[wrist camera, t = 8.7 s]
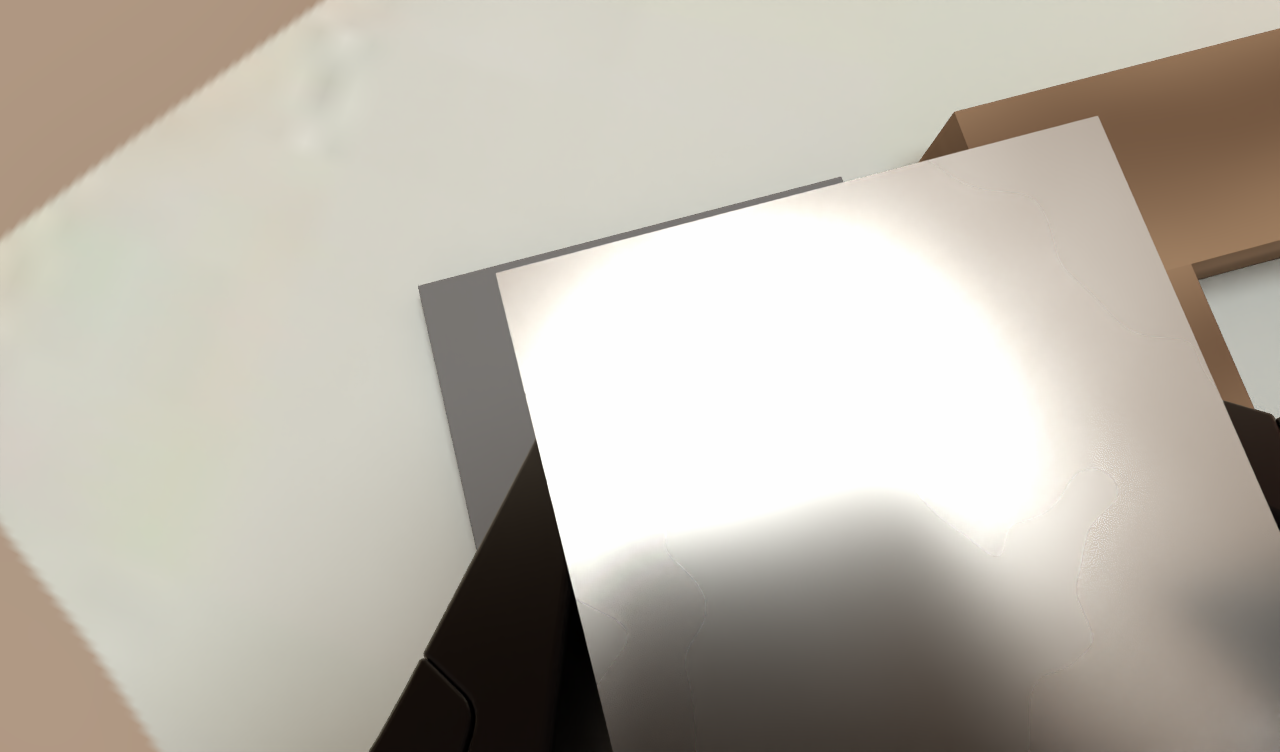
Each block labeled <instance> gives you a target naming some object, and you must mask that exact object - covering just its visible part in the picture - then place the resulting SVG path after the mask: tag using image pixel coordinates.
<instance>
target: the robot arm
mask: <svg viewBox="0 0 1280 752" xmlns="http://www.w3.org/2000/svg"><path fill="white" fill-rule="evenodd" d="M1222 401H1223V403H1224V405H1225V408H1226V410H1227V412H1228V415H1229V417H1230V419H1231V421H1232V424H1233V426H1234V428H1235V431H1236V433H1237V435H1238V437H1239V440H1240V442H1241V444H1242V447H1243V449H1244V451H1245V453H1246V456H1247V458H1248V460H1249V463H1250V465H1251V467H1252V469H1253V472H1254V474H1255V476H1256V479H1257V481H1258V483H1259V485H1260V488H1261V490H1262V492H1263V495H1264V497H1265V499H1266V501H1267V504H1268V506H1269V508H1270V511H1271V513H1272V515H1273V518H1274V520H1275V522H1276V524H1277V527H1278V529H1279V531H1280V418H1277V419H1276V420H1275V418H1274V416H1273V415H1272V414H1270V413H1266V412H1263V411H1259V410H1256V409H1252V408H1249V407H1245V406H1242V405H1238V404H1235V403H1231V402H1228V401H1224V400H1222ZM369 752H613V749H612V745H611V741H610V737H609V733H608V729H607V724H606V720H605V716H604V712H603V708H602V704H601V700H600V696H599V692H598V688H597V684H596V680H595V676H594V672H593V667H592V663H591V659H590V655H589V651H588V647H587V643H586V639H585V635H584V631H583V627H582V623H581V619H580V615H579V611H578V606H577V602H576V598H575V594H574V590H573V586H572V582H571V578H570V574H569V570H568V566H567V562H566V558H565V554H564V549H563V545H562V541H561V537H560V533H559V529H558V525H557V521H556V517H555V513H554V509H553V505H552V501H551V497H550V493H549V488H548V484H547V480H546V476H545V472H544V468H543V464H542V460H541V456H540V452H539V448H538V444H537V440H536V439H535V440H534V442H533V444H532V446H531V448H530V450H529V452H528V454H527V456H526V458H525V460H524V462H523V463H522V465H521V467H520V469H519V471H518V473H517V475H516V477H515V479H514V481H513V483H512V485H511V486H510V488H509V490H508V492H507V494H506V496H505V498H504V500H503V502H502V504H501V506H500V508H499V509H498V511H497V513H496V515H495V517H494V519H493V521H492V523H491V525H490V527H489V529H488V531H487V532H486V534H485V536H484V538H483V540H482V542H481V544H480V546H479V548H478V550H477V552H476V554H475V555H474V557H473V559H472V561H471V563H470V565H469V567H468V569H467V571H466V573H465V575H464V577H463V578H462V580H461V582H460V584H459V586H458V588H457V590H456V592H455V594H454V596H453V598H452V600H451V601H450V603H449V605H448V607H447V609H446V611H445V613H444V615H443V617H442V619H441V621H440V623H439V624H438V626H437V628H436V630H435V632H434V634H433V636H432V638H431V640H430V642H429V644H428V646H427V647H426V649H425V651H424V658H423V659H421V660H420V661H419V662H418V664H417V666H416V668H415V670H414V672H413V674H412V676H411V677H410V679H409V681H408V683H407V685H406V687H405V689H404V691H403V693H402V694H401V696H400V698H399V700H398V702H397V703H396V705H395V707H394V709H393V711H392V712H391V714H390V716H389V718H388V719H387V721H386V723H385V725H384V727H383V728H382V730H381V732H380V734H379V736H378V737H377V739H376V741H375V742H374V744H373V746H372V747H371V749H370V750H369Z"/></svg>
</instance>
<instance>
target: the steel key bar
mask: <svg viewBox="0 0 1280 752" xmlns="http://www.w3.org/2000/svg"><path fill="white" fill-rule="evenodd" d="M496 277H497V281H498V285H499V289H500V293H501V297H502V301H503V305H504V309H505V313H506V318H507V322H508V326H509V330H510V334H511V338H512V342H513V346H514V350H515V354H516V358H517V362H518V366H519V370H520V375H521V379H522V383H523V387H524V391H525V395H526V399H527V403H528V407H529V411H530V415H531V419H532V423H533V427H534V431H535V436H536V440H537V444H538V448H539V452H540V456H541V460H542V464H543V468H544V472H545V476H546V480H547V484H548V488H549V493H550V497H551V501H552V505H553V509H554V513H555V517H556V521H557V525H558V529H559V533H560V537H561V541H562V545H563V549H564V554H565V558H566V562H567V566H568V570H569V574H570V578H571V582H572V586H573V590H574V594H575V598H576V602H577V606H578V611H579V615H580V619H581V623H582V627H583V631H584V635H585V639H586V643H587V647H588V651H589V655H590V659H591V663H592V667H593V672H594V676H595V680H596V684H597V688H598V692H599V696H600V700H601V704H602V708H603V712H604V716H605V720H606V724H607V729H608V733H609V737H610V741H611V745H612V749H613V752H1280V531H1279V529H1278V527H1277V524H1276V522H1275V520H1274V518H1273V515H1272V513H1271V511H1270V508H1269V506H1268V504H1267V501H1266V499H1265V497H1264V495H1263V492H1262V490H1261V488H1260V485H1259V483H1258V481H1257V479H1256V476H1255V474H1254V472H1253V469H1252V467H1251V465H1250V463H1249V460H1248V458H1247V456H1246V453H1245V451H1244V449H1243V447H1242V444H1241V442H1240V440H1239V437H1238V435H1237V433H1236V431H1235V428H1234V426H1233V424H1232V421H1231V419H1230V417H1229V415H1228V412H1227V410H1226V408H1225V405H1224V403H1223V401H1222V399H1221V396H1220V394H1219V392H1218V389H1217V387H1216V385H1215V382H1214V380H1213V378H1212V376H1211V373H1210V371H1209V369H1208V366H1207V364H1206V362H1205V360H1204V357H1203V355H1202V353H1201V350H1200V348H1199V346H1198V344H1197V341H1196V339H1195V337H1194V334H1193V332H1192V330H1191V328H1190V325H1189V323H1188V321H1187V318H1186V316H1185V314H1184V312H1183V309H1182V307H1181V305H1180V302H1179V300H1178V298H1177V296H1176V293H1175V291H1174V289H1173V286H1172V284H1171V282H1170V280H1169V277H1168V275H1167V273H1166V270H1165V268H1164V266H1163V263H1162V261H1161V259H1160V257H1159V254H1158V252H1157V250H1156V247H1155V245H1154V243H1153V241H1152V238H1151V236H1150V234H1149V231H1148V229H1147V227H1146V225H1145V222H1144V220H1143V218H1142V215H1141V213H1140V211H1139V209H1138V206H1137V204H1136V202H1135V199H1134V197H1133V195H1132V193H1131V190H1130V188H1129V186H1128V183H1127V181H1126V179H1125V177H1124V174H1123V172H1122V170H1121V167H1120V165H1119V163H1118V161H1117V158H1116V156H1115V154H1114V151H1113V149H1112V147H1111V144H1110V142H1109V140H1108V138H1107V135H1106V133H1105V131H1104V128H1103V126H1102V124H1101V122H1100V119H1099V117H1098V116H1095V117H1091V118H1087V119H1083V120H1079V121H1075V122H1072V123H1068V124H1064V125H1060V126H1056V127H1052V128H1049V129H1045V130H1041V131H1037V132H1033V133H1030V134H1026V135H1022V136H1018V137H1014V138H1010V139H1007V140H1003V141H999V142H995V143H991V144H987V145H984V146H980V147H976V148H972V149H968V150H965V151H961V152H957V153H953V154H949V155H945V156H942V157H938V158H934V159H930V160H926V161H922V162H919V163H915V164H911V165H907V166H903V167H899V168H896V169H892V170H888V171H884V172H880V173H877V174H873V175H869V176H865V177H861V178H857V179H854V180H850V181H846V182H842V183H838V184H834V185H831V186H827V187H823V188H819V189H815V190H811V191H808V192H804V193H800V194H796V195H792V196H789V197H785V198H781V199H777V200H773V201H769V202H766V203H762V204H758V205H754V206H750V207H746V208H743V209H739V210H735V211H731V212H727V213H724V214H720V215H716V216H712V217H708V218H704V219H701V220H697V221H693V222H689V223H685V224H681V225H678V226H674V227H670V228H666V229H662V230H658V231H655V232H651V233H647V234H643V235H639V236H636V237H632V238H628V239H624V240H620V241H616V242H613V243H609V244H605V245H601V246H597V247H593V248H590V249H586V250H582V251H578V252H574V253H571V254H567V255H563V256H559V257H555V258H551V259H548V260H544V261H540V262H536V263H532V264H528V265H525V266H521V267H517V268H513V269H509V270H505V271H502V272H498V273H496Z"/></svg>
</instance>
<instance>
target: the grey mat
mask: <svg viewBox="0 0 1280 752" xmlns="http://www.w3.org/2000/svg"><path fill="white" fill-rule="evenodd" d="M842 182H843V180H842V177H838V178H834V179H830V180H826V181H822V182H819V183H815V184H811V185H807V186H803V187H799V188H795V189H791V190H788V191H784V192H780V193H776V194H772V195H768V196H764V197H760V198H757V199H753V200H749V201H745V202H741V203H737V204H733V205H730V206H726V207H722V208H718V209H714V210H710V211H706V212H702V213H699V214H695V215H691V216H687V217H683V218H679V219H675V220H671V221H668V222H664V223H660V224H656V225H652V226H648V227H644V228H641V229H637V230H633V231H629V232H625V233H621V234H617V235H613V236H610V237H606V238H602V239H598V240H594V241H590V242H586V243H583V244H579V245H575V246H571V247H567V248H563V249H559V250H555V251H552V252H548V253H544V254H540V255H536V256H532V257H528V258H524V259H521V260H517V261H513V262H509V263H505V264H501V265H497V266H494V267H490V268H486V269H482V270H478V271H474V272H470V273H466V274H463V275H459V276H455V277H451V278H447V279H443V280H439V281H436V282H432V283H428V284H424V285H420V286H418V289H419V293H420V298H421V302H422V307H423V311H424V315H425V320H426V324H427V329H428V333H429V338H430V342H431V347H432V351H433V356H434V360H435V365H436V369H437V374H438V378H439V383H440V387H441V392H442V396H443V401H444V405H445V410H446V414H447V419H448V423H449V428H450V432H451V437H452V441H453V446H454V450H455V455H456V459H457V464H458V468H459V473H460V477H461V482H462V486H463V491H464V495H465V500H466V504H467V509H468V513H469V518H470V522H471V527H472V531H473V536H474V540H475V545H476V549H477V550H478V548H479V546H480V544H481V542H482V540H483V538H484V536H485V534H486V532H487V531H488V529H489V527H490V525H491V523H492V521H493V519H494V517H495V515H496V513H497V511H498V509H499V508H500V506H501V504H502V502H503V500H504V498H505V496H506V494H507V492H508V490H509V488H510V486H511V485H512V483H513V481H514V479H515V477H516V475H517V473H518V471H519V469H520V467H521V465H522V463H523V462H524V460H525V458H526V456H527V454H528V452H529V450H530V448H531V446H532V444H533V442H534V440H535V439H536V436H535V431H534V427H533V423H532V419H531V415H530V411H529V407H528V403H527V399H526V395H525V391H524V387H523V383H522V379H521V375H520V370H519V366H518V362H517V358H516V354H515V350H514V346H513V342H512V338H511V334H510V330H509V326H508V322H507V318H506V313H505V309H504V305H503V301H502V297H501V293H500V289H499V285H498V281H497V277H496V273H498V272H502V271H505V270H509V269H513V268H517V267H521V266H525V265H528V264H532V263H536V262H540V261H544V260H548V259H551V258H555V257H559V256H563V255H567V254H571V253H574V252H578V251H582V250H586V249H590V248H593V247H597V246H601V245H605V244H609V243H613V242H616V241H620V240H624V239H628V238H632V237H636V236H639V235H643V234H647V233H651V232H655V231H658V230H662V229H666V228H670V227H674V226H678V225H681V224H685V223H689V222H693V221H697V220H701V219H704V218H708V217H712V216H716V215H720V214H724V213H727V212H731V211H735V210H739V209H743V208H746V207H750V206H754V205H758V204H762V203H766V202H769V201H773V200H777V199H781V198H785V197H789V196H792V195H796V194H800V193H804V192H808V191H811V190H815V189H819V188H823V187H827V186H831V185H834V184H838V183H842Z"/></svg>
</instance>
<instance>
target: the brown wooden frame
mask: <svg viewBox="0 0 1280 752" xmlns="http://www.w3.org/2000/svg"><path fill="white" fill-rule="evenodd" d="M1095 116H1098V117H1099V119H1100V122H1101V124H1102V126H1103V128H1104V131H1105V133H1106V135H1107V138H1108V140H1109V142H1110V144H1111V147H1112V149H1113V151H1114V154H1115V156H1116V158H1117V161H1118V163H1119V165H1120V167H1121V170H1122V172H1123V174H1124V177H1125V179H1126V181H1127V183H1128V186H1129V188H1130V190H1131V193H1132V195H1133V197H1134V199H1135V202H1136V204H1137V206H1138V209H1139V211H1140V213H1141V215H1142V218H1143V220H1144V222H1145V225H1146V227H1147V229H1148V231H1149V234H1150V236H1151V238H1152V241H1153V243H1154V245H1155V247H1156V250H1157V252H1158V254H1159V257H1160V259H1161V261H1162V263H1163V266H1164V268H1165V270H1166V273H1167V275H1168V277H1169V280H1170V282H1171V284H1172V286H1173V289H1174V291H1175V293H1176V296H1177V298H1178V300H1179V302H1180V305H1181V307H1182V309H1183V312H1184V314H1185V316H1186V318H1187V321H1188V323H1189V325H1190V328H1191V330H1192V332H1193V334H1194V337H1195V339H1196V341H1197V344H1198V346H1199V348H1200V350H1201V353H1202V355H1203V357H1204V360H1205V362H1206V364H1207V366H1208V369H1209V371H1210V373H1211V376H1212V378H1213V380H1214V382H1215V385H1216V387H1217V389H1218V392H1219V394H1220V396H1221V399H1222V400H1224V401H1228V402H1231V403H1235V404H1238V405H1242V406H1245V407H1249V408H1252V409H1254V407H1253V404H1252V402H1251V400H1250V398H1249V395H1248V393H1247V391H1246V388H1245V386H1244V384H1243V382H1242V379H1241V377H1240V375H1239V372H1238V370H1237V368H1236V366H1235V363H1234V361H1233V359H1232V356H1231V354H1230V352H1229V350H1228V347H1227V345H1226V343H1225V341H1224V338H1223V336H1222V334H1221V331H1220V329H1219V327H1218V325H1217V322H1216V320H1215V318H1214V315H1213V313H1212V311H1211V309H1210V306H1209V304H1208V302H1207V299H1206V297H1205V295H1204V293H1203V290H1202V288H1201V286H1200V283H1199V281H1198V280H1199V279H1203V278H1207V277H1210V276H1214V275H1218V274H1221V273H1225V272H1229V271H1233V270H1236V269H1240V268H1244V267H1247V266H1251V265H1255V264H1258V263H1262V262H1266V261H1270V260H1273V259H1277V258H1280V29H1276V30H1272V31H1268V32H1264V33H1260V34H1256V35H1252V36H1248V37H1245V38H1241V39H1237V40H1233V41H1229V42H1225V43H1221V44H1217V45H1213V46H1209V47H1206V48H1202V49H1198V50H1194V51H1190V52H1186V53H1182V54H1178V55H1174V56H1170V57H1167V58H1163V59H1159V60H1155V61H1151V62H1147V63H1143V64H1139V65H1135V66H1131V67H1128V68H1124V69H1120V70H1116V71H1112V72H1108V73H1104V74H1100V75H1096V76H1092V77H1089V78H1085V79H1081V80H1077V81H1073V82H1069V83H1065V84H1061V85H1057V86H1053V87H1050V88H1046V89H1042V90H1038V91H1034V92H1030V93H1026V94H1022V95H1018V96H1014V97H1011V98H1007V99H1003V100H999V101H995V102H991V103H987V104H983V105H979V106H975V107H971V108H968V109H964V110H960V111H956V112H954V113H953V114H952V116H951V117H950V119H949V120H948V121H947V123H946V124H945V126H944V127H943V129H942V130H941V131H940V133H939V134H938V136H937V137H936V138H935V140H934V141H933V143H932V144H931V145H930V147H929V148H928V150H927V151H926V152H925V154H924V155H923V157H922V158H921V160H920V161H919V162H922V161H926V160H930V159H934V158H938V157H942V156H945V155H949V154H953V153H957V152H961V151H965V150H968V149H972V148H976V147H980V146H984V145H987V144H991V143H995V142H999V141H1003V140H1007V139H1010V138H1014V137H1018V136H1022V135H1026V134H1030V133H1033V132H1037V131H1041V130H1045V129H1049V128H1052V127H1056V126H1060V125H1064V124H1068V123H1072V122H1075V121H1079V120H1083V119H1087V118H1091V117H1095ZM919 162H918V163H919Z"/></svg>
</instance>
